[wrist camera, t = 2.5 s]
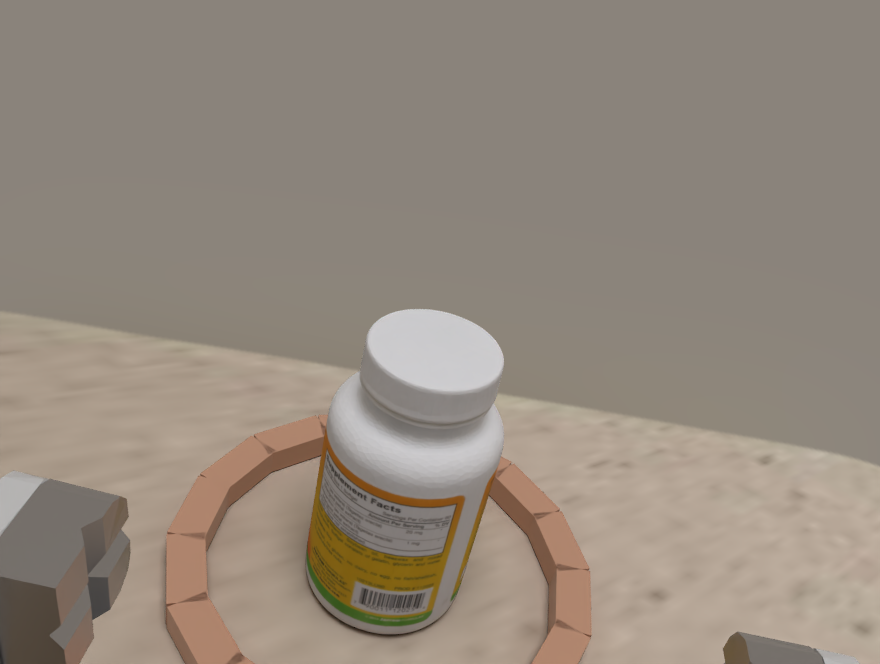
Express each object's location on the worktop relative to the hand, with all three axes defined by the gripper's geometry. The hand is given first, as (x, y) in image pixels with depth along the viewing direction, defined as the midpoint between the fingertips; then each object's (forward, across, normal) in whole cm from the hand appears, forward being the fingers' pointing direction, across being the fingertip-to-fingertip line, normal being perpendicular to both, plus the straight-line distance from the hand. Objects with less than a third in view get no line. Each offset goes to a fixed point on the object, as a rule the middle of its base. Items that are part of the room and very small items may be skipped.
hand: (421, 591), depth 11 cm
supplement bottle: (+12, +1, +14) cm, 19 cm away
